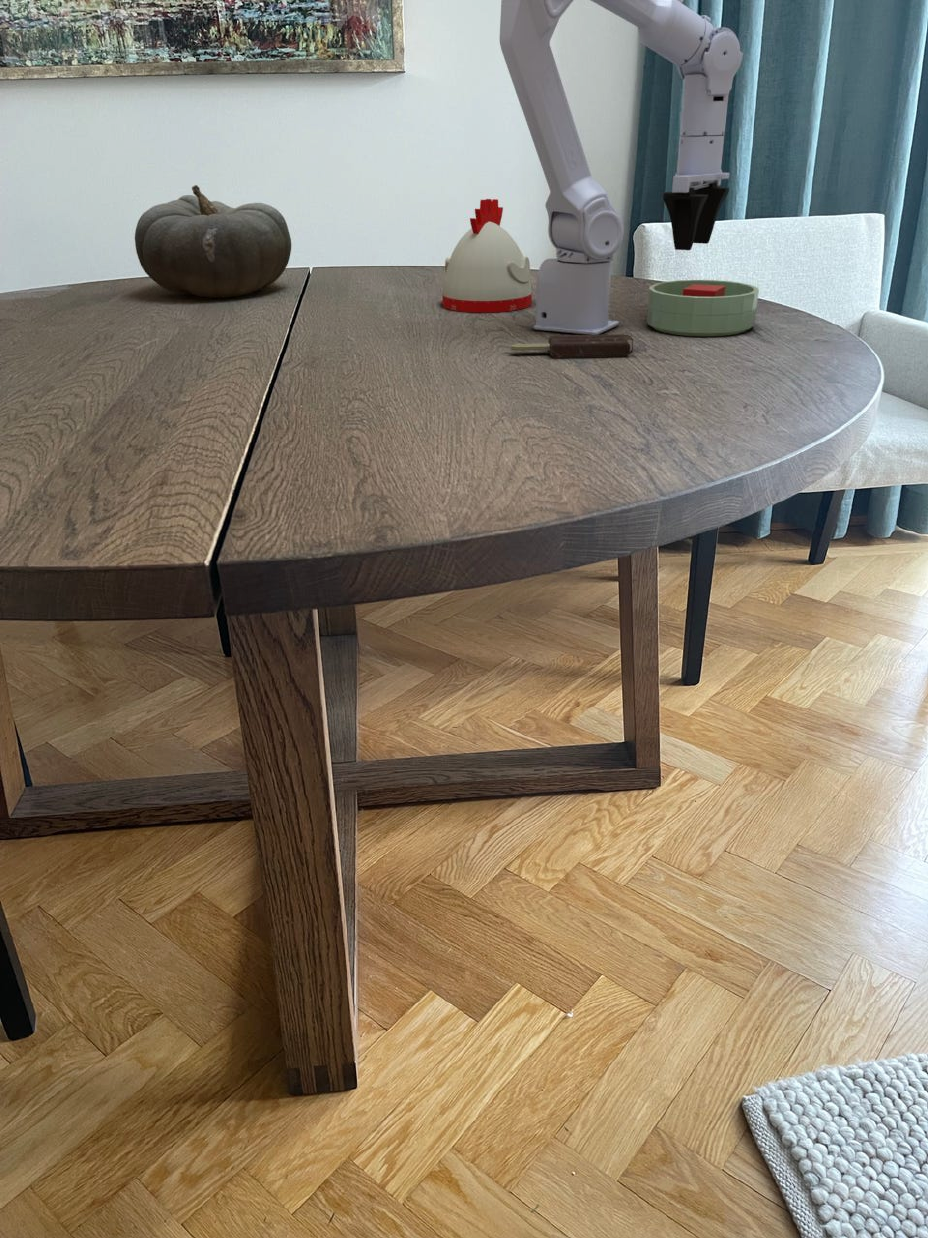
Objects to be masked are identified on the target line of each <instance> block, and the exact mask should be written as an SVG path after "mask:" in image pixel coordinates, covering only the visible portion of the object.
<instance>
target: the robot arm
mask: <svg viewBox="0 0 928 1238" xmlns="http://www.w3.org/2000/svg"><path fill="white" fill-rule="evenodd" d="M500 1H501V2H500V20H499V21H500V22H499V47H500V50H501V53H502V57H503V58H504V62H505V64H506V68H507V71H508V74H509V76H510V79H511V82H512V85H513V88H514V90H515V93H516V96H517V99H518V101H519V105H520V108H521V111H522V113H523V117H524V119H525V122H526V125H527V128H528V131H529V133H530V136H531V140H532V142H533V145H534V148H535V151H536V154H537V157H538V160H539V163H540V166H541V169H542V171H543V174H544V177H545V180H546V182H547V186H548V189H549V194H548V197H547V199H546V202H545V209H546V212H547V216H548V227H547V234H548V237H549V240H550V242H551V245H552V246H553V247H554V248H555V251H556V253H555V256H556V258H546V259H544V261H543V262H542V263H541V264H540V266H539V269H538V272H537V277H536V297H535V298H536V306H535V307H536V309H535V325H533V329H534V330H537V331H538V330H539V331H547V332H557V333H558V332H559V333H568V334H577V335H601V334H603V333H605V332H607V331H608V330H611V329H613V328H615V327H617V326H619V325H620V321H618V320H609V317H610V314H609V313H610V296H611V280H612V279H611V277H612V262H613V261H614V254H615V253H616V252H617V251H618V250H619V248H620V247H621V244H622V242H623V238H624V235H625V234H624V232H625V229H624V228H625V226H624V222H623V218H622V216H621V215H620V213H619V212H618V211H617V210H616V209H615V208H614V207H613V206H612V204H611V202H610V200H609V196H608V194H607V192H606V191H605V189H604V188H603V187H602V186H601V185H600V184H599V183H598V182H597V181H596V179H594V177H593V176H592V173H591V171H590V167H589V164H588V161H587V157H586V155H585V151H584V149H583V148H584V147H583V145H582V142H581V139H580V136H579V133H578V129H577V126H576V122H575V120H574V117H573V113H572V110H571V108H570V104H569V101H568V98H567V95H566V92H565V88H564V86H563V85H564V84H563V81H562V78H561V76H560V72H559V70H558V65H557V64H556V60H555V57H554V53H553V52H552V47H551V44H550V43H551V39H552V37H553V35H554V32H555V30H556V28H557V26H558V24H559V20H560V18H561V17H562V16H563V15H564V14H565V12H566V11H567V9H568V8H569V7H570V6H571V4H572V3H573V2H574V0H500ZM590 1H591V2H593V3H595V4H596V5H598V6H600V7H601V8H603V9H605V10H607V11H609V12H611V13H612V14H614V15H616V16H617V17H619V18H621V19H623V20H624V21H626V22H628V23H630V24H632V25H633V26H635V27H637V32H638V39H639V41H640V43H641V44H642V45H644V46H645V47H647V48H648V49H650V50H651V51H653V52H655V53H656V54H658V56H661V57H662V58H663V59H666V60H667V61H669V62H670V63H672V64H673V65H675V67H676V70H677V73H678V75H679V77H680V79H682V80H683V93H682V106H681V118H680V130H679V131H680V133H679V141H678V142H679V143H678V155H677V166H676V167H677V169H676V172H675V173H674V175H673V177H672V189H671V191H666V192H665V191H664V192H663V194H662V199H663V202H664V204H665V207H666V209H667V212H668V215H669V219H670V225H671V231H672V239H673V245H674V246H673V247H674V250H675V251H691V250H692V248H693V245H694V244H701V245H702V244H704V245H705V244H706V245H708V244H709V243H710V241H711V238H712V235H713V230H714V227H715V224H716V221H717V218H718V215H719V212H720V210H721V207H722V206H723V203H724V201H725V199H726V198H727V196H728V195H729V193H730V187H728V186H721V184H722V180H728V179H730V172H723V169H722V163H723V154H724V144H725V143H724V142H725V135H726V134H725V132H726V123H727V113H728V104H729V103H728V101H729V94H730V92H731V90H732V88H733V81H734V77H735V76H736V74H737V72H738V71H739V69H740V67H741V64H742V62H743V58H744V52H742V51H741V44H740V41H739V38H738V37H737V35H736V34H735V32H734V31H733V30H732V29H730V28H729V27H726V26H722V27H714V26H713V24H712V23H711V21H712V19H711V18H710V17H709V16H708V15H706V14H705V15H700V14H698V13H697V12H695V11H694V10H692V9H691V8H689V7H688V6H686V5H685V4H684V0H590Z"/></svg>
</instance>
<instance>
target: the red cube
mask: <svg viewBox="0 0 928 1238" xmlns="http://www.w3.org/2000/svg"><path fill="white" fill-rule="evenodd" d="M724 294H725V286H717V285H701V284H693V285H691V286H689V287H687V288H684V289H683V296H695V297H719V296H724Z"/></svg>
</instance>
